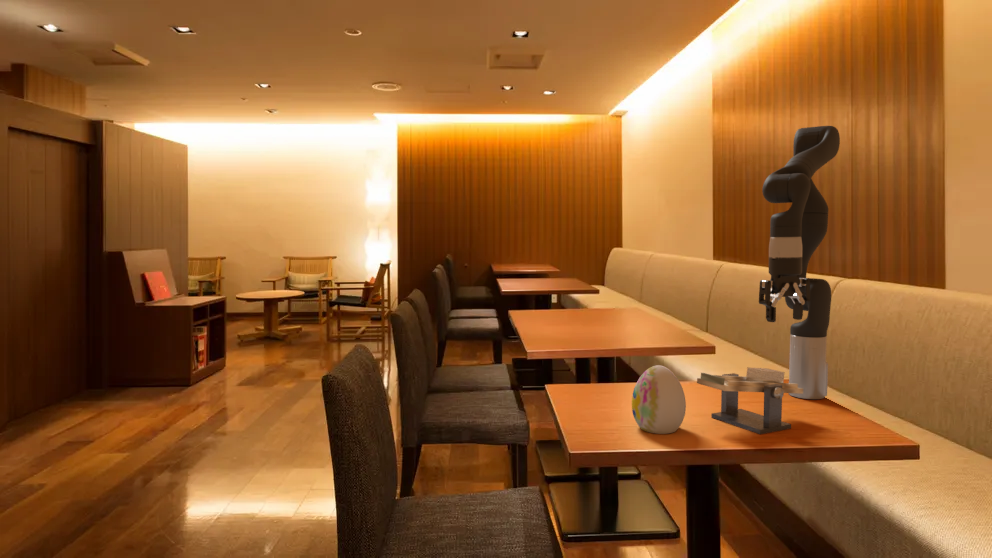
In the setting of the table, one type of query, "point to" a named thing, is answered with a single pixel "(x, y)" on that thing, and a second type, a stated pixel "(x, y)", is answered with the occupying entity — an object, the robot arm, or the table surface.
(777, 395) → the stand
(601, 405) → the table surface
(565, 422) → the table surface
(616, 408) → the table surface
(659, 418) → the decorative egg
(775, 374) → the rider
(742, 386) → the beam
